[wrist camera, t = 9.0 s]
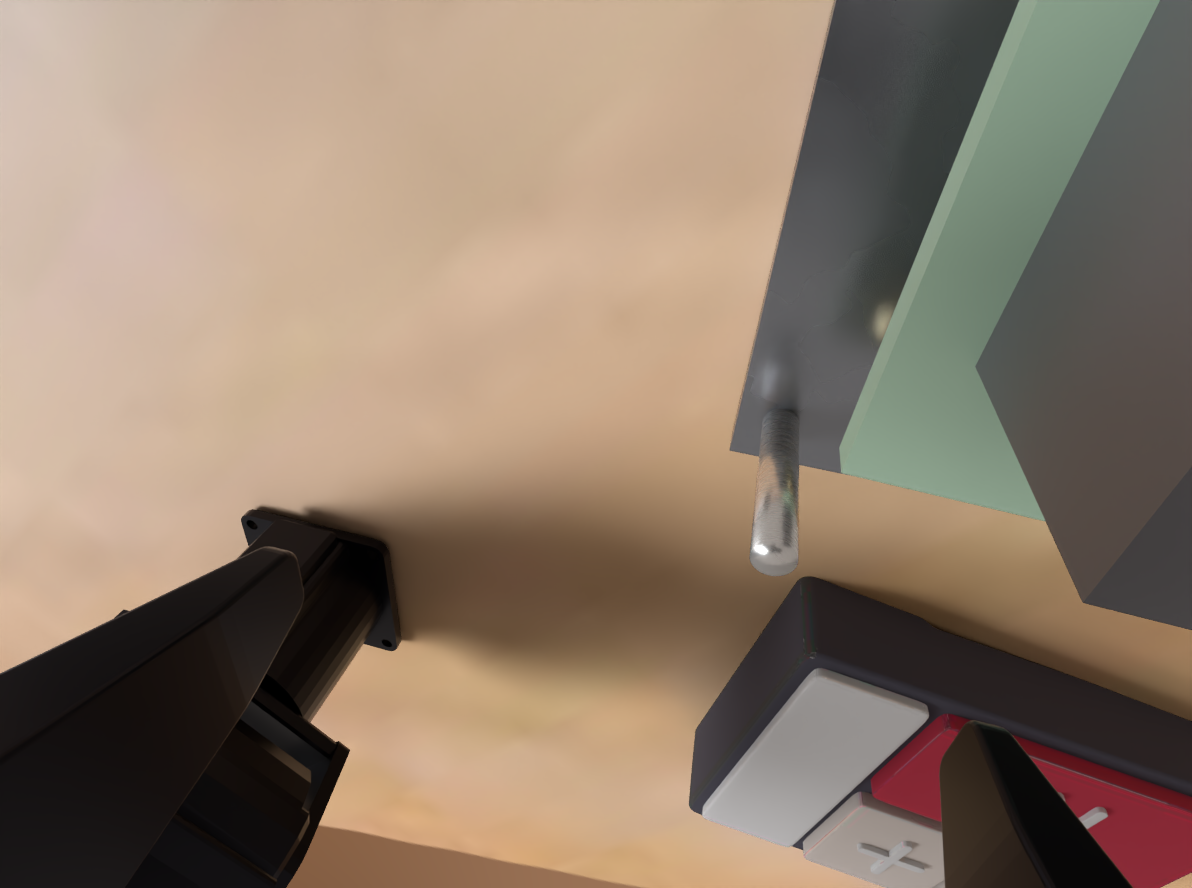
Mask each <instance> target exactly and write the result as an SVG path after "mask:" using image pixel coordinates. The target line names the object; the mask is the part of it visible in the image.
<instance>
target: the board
mask: <svg viewBox="0 0 1192 888" xmlns="http://www.w3.org/2000/svg"><path fill="white" fill-rule="evenodd" d="M839 450H840V463H841V473H843V474H848V475H852V476H856V477H860V478H865V479H869V480H873V481H877V482H881V483H886V484H890V485H894V486H898V487H902V488H907V489H911V490H915V491H919V492H924V493H928V494H932V495H936V496H940V497H945V498H949V499H953V500H957V501H961V502H966V503H970V504H974V505H978V506H983V507H987V508H991V509H995V510H999V511H1004V512H1008V513H1012V514H1016V515H1021V516H1025V517H1029V518H1033V519H1037V520H1042V521H1046V523H1047V525H1048V527H1049V530H1050V532H1051V534H1052V536H1053V538H1054V541H1055V543H1056V545H1057V547H1058V549H1059V552H1060V554H1061V556H1062V558H1063V560H1064V563H1065V565H1066V567H1067V569H1068V571H1069V574H1070V576H1071V578H1072V580H1073V582H1074V585H1075V587H1076V589H1077V591H1078V593H1079V595H1080V598H1081V600H1082V602H1083V603H1086V604H1090V605H1094V606H1098V607H1102V608H1106V609H1110V610H1114V611H1118V612H1122V613H1126V614H1130V615H1134V616H1137V617H1141V618H1145V619H1149V620H1153V621H1157V622H1161V623H1165V624H1169V625H1173V626H1177V627H1181V628H1185V629H1189V630H1192V0H1019V2H1018V5H1017V7H1016V10H1015V12H1014V15H1013V17H1012V20H1011V22H1010V25H1009V27H1008V30H1007V32H1006V34H1005V37H1004V39H1003V42H1002V44H1001V47H1000V49H999V52H998V54H997V57H996V59H995V62H994V64H993V67H992V69H991V72H990V74H989V77H988V79H987V82H986V84H985V87H984V89H983V92H982V94H981V97H980V99H979V102H978V104H977V107H976V109H975V112H974V114H973V117H972V119H971V121H970V124H969V126H968V129H967V131H966V134H965V136H964V139H963V141H962V144H961V146H960V149H959V151H958V154H957V156H956V159H955V161H954V164H953V166H952V169H951V171H950V174H949V176H948V179H947V181H946V184H945V186H944V189H943V191H942V194H941V196H940V199H939V201H938V203H937V206H936V208H935V211H934V213H933V216H932V218H931V221H930V223H929V226H928V228H927V231H926V233H925V236H924V238H923V241H922V243H921V246H920V248H919V251H918V253H917V256H916V258H915V261H914V263H913V266H912V268H911V271H910V273H909V276H908V278H907V281H906V283H905V285H904V288H903V290H902V293H901V295H900V298H899V300H898V303H897V305H896V308H895V310H894V313H893V315H892V318H891V320H890V323H889V325H888V328H887V330H886V333H885V335H884V338H883V340H882V343H881V345H880V348H879V350H878V353H877V355H876V358H875V360H874V363H873V365H872V367H871V370H870V372H869V375H868V377H867V380H866V382H865V385H864V387H863V390H862V392H861V395H860V397H859V400H858V402H857V405H856V407H855V410H854V412H853V415H852V417H851V420H850V422H849V425H848V427H847V430H846V432H845V435H844V437H843V440H842V442H841V445H840V447H839Z"/></svg>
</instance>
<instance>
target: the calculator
mask: <svg viewBox="0 0 1192 888" xmlns="http://www.w3.org/2000/svg"><path fill="white" fill-rule="evenodd" d="M971 720H975V721H980V722H984V723H988V724H992V725H996V726H1000V727H1002V728H1004V729H1006V730H1007V731H1008V732H1010V733H1011V734H1012V735H1013V736H1014V738H1015V739H1016V740H1017V741H1018V743H1019V744H1020V745H1021V747H1022V748H1023V749H1024V750H1025V752H1026V753H1027V754H1028V755H1029V757H1030V758H1031V759H1032V760H1033V762H1034V763H1035V764H1036V765H1037V767H1038V768H1039V769H1040V770H1041V772H1042V773H1043V774H1044V776H1045V777H1046V778H1047V779H1048V781H1049V782H1050V783H1051V784H1052V786H1053V787H1054V788H1055V789H1056V791H1057V792H1058V793H1059V794H1060V796H1061V797H1062V798H1063V799H1064V801H1065V802H1066V803H1067V805H1068V806H1069V807H1070V808H1071V810H1072V811H1073V812H1074V813H1075V815H1076V816H1077V817H1078V818H1079V820H1080V821H1081V822H1082V823H1083V825H1084V826H1085V827H1086V828H1087V830H1088V831H1089V832H1090V834H1091V835H1092V836H1093V837H1094V839H1095V840H1096V841H1097V842H1098V844H1099V845H1100V846H1101V847H1102V849H1103V850H1104V851H1105V852H1106V854H1107V855H1108V856H1109V857H1110V859H1111V860H1112V861H1113V862H1114V864H1115V865H1116V866H1117V868H1118V869H1119V870H1120V871H1121V873H1122V874H1123V875H1124V876H1125V878H1126V879H1127V880H1128V881H1129V883H1130V884H1131V885H1132V886H1133V888H1160V887H1163V886H1165V885H1167V884H1169V883H1171V882H1173V881H1175V880H1177V879H1179V878H1181V877H1183V876H1185V875H1187V874H1190V873H1192V721H1189V720H1186V719H1184V718H1181V717H1179V716H1176V715H1173V714H1171V713H1168V712H1166V711H1163V710H1160V709H1158V708H1155V707H1152V706H1150V705H1147V704H1145V703H1142V702H1139V701H1137V700H1134V699H1132V698H1129V697H1126V696H1124V695H1121V694H1118V693H1116V692H1113V691H1111V690H1108V689H1105V688H1103V687H1100V686H1097V685H1095V684H1092V683H1089V682H1087V681H1084V680H1081V679H1079V678H1076V677H1073V676H1070V675H1068V674H1065V673H1062V672H1059V671H1056V670H1054V669H1051V668H1048V667H1045V666H1042V665H1039V664H1036V663H1033V662H1030V661H1028V660H1025V659H1022V658H1019V657H1016V656H1013V655H1010V654H1007V653H1004V652H1002V651H999V650H996V649H993V648H990V647H987V646H984V645H981V644H979V643H976V642H973V641H970V640H967V639H964V638H961V637H958V636H956V635H953V634H950V633H947V632H944V631H941V630H939V629H936V628H934V627H933V626H931V625H930V624H929V623H927V622H926V621H925V620H924V619H922V618H920V617H918V616H915V615H913V614H910V613H907V612H905V611H902V610H900V609H897V608H894V607H892V606H889V605H887V604H884V603H881V602H879V601H876V600H874V599H871V598H868V597H866V596H863V595H860V594H858V593H855V592H853V591H850V590H847V589H845V588H842V587H840V586H837V585H834V584H832V583H829V582H827V581H824V580H821V579H818V578H815V577H803V578H801V579H799V580H798V581H797V582H796V584H795V585H794V587H793V588H792V589H791V591H790V592H789V594H788V595H787V597H786V598H785V600H784V601H783V603H782V604H781V606H780V607H779V609H778V610H777V611H776V613H775V614H774V616H773V617H772V619H771V620H770V622H769V623H768V625H767V626H766V628H765V629H764V630H763V632H762V633H761V635H760V636H759V638H758V639H757V641H756V642H755V644H754V645H753V647H752V648H751V650H750V651H749V652H748V654H747V655H746V657H745V658H744V660H743V661H742V663H741V664H740V666H739V667H738V669H737V670H736V671H735V673H734V674H733V676H732V677H731V679H730V680H729V682H728V683H727V685H726V686H725V688H724V689H723V691H722V692H721V693H720V695H719V696H718V698H717V699H716V701H715V702H714V704H713V705H712V707H711V708H710V710H709V711H708V713H707V714H706V715H705V717H704V718H703V720H702V721H701V723H700V724H699V726H698V727H697V729H696V731H695V741H694V752H693V763H692V774H691V785H690V797H689V806H690V808H691V809H692V810H693V811H694V812H696V813H699V814H701V815H702V816H703V818H705V819H707V820H709V821H712V822H715V823H717V824H720V825H723V826H726V827H729V828H732V829H735V830H737V831H740V832H743V833H746V834H749V835H752V836H755V837H757V838H760V839H763V840H766V841H769V842H772V843H775V844H777V845H780V846H784V847H790V846H793V847H796V848H799V849H801V850H803V853H804V858H805V859H807V860H809V861H811V862H814V863H817V864H820V865H823V866H826V867H829V868H831V869H834V870H837V871H840V872H843V873H846V874H849V875H851V876H854V877H857V878H860V879H863V880H866V881H869V882H871V883H874V884H877V885H880V886H883V887H886V888H945V881H944V861H943V841H942V821H941V801H940V781H939V770H940V764H941V760H942V757H943V755H944V753H945V752H946V751H947V749H948V748H949V746H950V745H951V743H952V742H953V740H954V739H955V737H956V736H957V734H958V733H959V731H960V730H961V728H962V727H963V726H964V724H965V723H967V722H969V721H971Z"/></svg>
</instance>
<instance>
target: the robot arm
mask: <svg viewBox="0 0 1192 888" xmlns="http://www.w3.org/2000/svg"><path fill="white" fill-rule="evenodd" d="M241 522H242V526H243V529H244V532H245V536H246V539H247V542H248V545H249V547H248V548H247V549H246V550H245V551H244V552H243V553H242V554H241V555H240V556H239V557H238V558H237V559H236V560H234V561H232V562H230V563H228V564H226V565H224V566H222V567H220V568H218V569H216V570H214V571H212V572H210V573H207V574H205V575H203V576H201V577H199V578H197V579H195V580H193V581H191V582H189V583H187V584H185V585H183V586H181V587H178V588H176V589H174V590H172V591H170V592H168V593H166V594H164V595H162V596H160V597H158V598H156V599H154V600H152V601H149V602H147V603H145V604H143V605H141V606H139V607H137V608H135V609H133V610H131V611H127V610H123V611H122V612H120V613H119V614H118V615H117V616H116V617H115V618H114V619H112V620H110V621H108V622H106V623H104V624H102V625H100V626H98V627H96V628H94V629H92V630H89V631H87V632H85V633H83V634H81V635H79V636H77V637H75V638H73V639H71V640H69V641H67V642H65V643H63V644H60V645H58V646H56V647H54V648H52V649H50V650H48V651H46V652H44V653H42V654H40V655H38V656H36V657H34V658H31V659H29V660H27V661H25V662H23V663H21V664H19V665H17V666H15V667H13V668H11V669H9V670H7V671H5V672H2V673H0V888H286V887H287V885H288V884H289V882H290V881H291V879H292V878H293V876H294V875H295V873H296V871H297V870H298V868H299V866H300V864H301V863H302V861H303V859H304V857H305V854H306V853H307V850H308V848H309V846H310V843H311V841H312V839H313V837H314V834H315V832H316V829H317V827H318V825H319V823H320V820H321V818H322V815H323V813H324V811H325V808H326V806H327V804H328V801H329V799H330V797H331V794H332V792H333V790H334V787H335V785H336V782H337V780H338V778H339V775H340V773H341V771H342V768H343V766H344V764H345V761H346V759H347V757H348V754H349V752H350V749H348V748H347V747H346V746H344V745H343V744H342V743H341V742H339V741H338V742H335V741H333V740H332V739H331V738H330V737H328V736H327V735H326V734H324V733H323V732H322V731H320V730H319V729H318V728H316V727H315V726H314V725H312V724H311V723H310V722H311V721H312V719H313V718H314V716H315V715H316V713H317V712H318V710H319V709H320V707H321V706H322V704H323V703H324V701H325V700H326V698H327V697H328V695H329V694H330V692H331V691H332V690H333V688H334V687H335V685H336V684H337V682H338V681H339V679H340V678H341V676H342V675H343V673H344V672H345V670H346V669H347V667H348V666H349V664H350V663H351V661H352V660H353V658H354V657H355V655H356V654H357V652H358V651H359V649H360V648H361V646H362V645H363V644H367V645H370V646H374V647H377V648H381V649H385V650H388V651H394V650H396V649H397V647H398V646H399V644H400V642H401V634H400V626H399V619H398V612H397V605H396V598H395V591H394V584H393V576H392V569H391V562H390V555H389V550H388V548H387V547H386V545H385V544H383V543H382V542H381V541H378V540H375V539H371V538H367V537H363V536H359V535H355V534H351V533H347V532H343V531H339V530H335V529H331V528H327V527H323V526H319V525H315V524H311V523H307V522H303V521H299V520H295V519H291V518H287V517H283V516H279V515H275V514H271V513H267V512H263V511H259V510H253V509H252V510H249V511H248V512H247V513H246V514H245V515H244V516H243V517H242V518H241ZM939 781H940V801H941V821H942V841H943V861H944V881H945V888H1133V886H1132V885H1131V884H1130V883H1129V881H1128V880H1127V879H1126V878H1125V876H1124V875H1123V874H1122V873H1121V871H1120V870H1119V869H1118V868H1117V866H1116V865H1115V864H1114V862H1113V861H1112V860H1111V859H1110V857H1109V856H1108V855H1107V854H1106V852H1105V851H1104V850H1103V849H1102V847H1101V846H1100V845H1099V844H1098V842H1097V841H1096V840H1095V839H1094V837H1093V836H1092V835H1091V834H1090V832H1089V831H1088V830H1087V828H1086V827H1085V826H1084V825H1083V823H1082V822H1081V821H1080V820H1079V818H1078V817H1077V816H1076V815H1075V813H1074V812H1073V811H1072V810H1071V808H1070V807H1069V806H1068V805H1067V803H1066V802H1065V801H1064V799H1063V798H1062V797H1061V796H1060V794H1059V793H1058V792H1057V791H1056V789H1055V788H1054V787H1053V786H1052V784H1051V783H1050V782H1049V781H1048V779H1047V778H1046V777H1045V776H1044V774H1043V773H1042V772H1041V770H1040V769H1039V768H1038V767H1037V765H1036V764H1035V763H1034V762H1033V760H1032V759H1031V758H1030V757H1029V755H1028V754H1027V753H1026V752H1025V750H1024V749H1023V748H1022V747H1021V745H1020V744H1019V743H1018V741H1017V740H1016V739H1015V738H1014V736H1013V735H1012V734H1011V733H1010V732H1008V731H1007V730H1006V729H1004V728H1002V727H1000V726H996V725H992V724H988V723H984V722H980V721H975V720H971V721H969V722H967V723H965V724H964V726H963V727H962V728H961V730H960V731H959V733H958V734H957V736H956V737H955V739H954V740H953V742H952V743H951V745H950V746H949V748H948V749H947V751H946V752H945V753H944V755H943V757H942V760H941V764H940V770H939Z"/></svg>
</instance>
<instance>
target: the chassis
mask: <svg viewBox="0 0 1192 888" xmlns="http://www.w3.org/2000/svg"><path fill="white" fill-rule="evenodd" d="M1018 2H1019V0H834V3H833V7H832V12H831V16H830V20H829V24H828V29H827V33H826V37H825V41H824V46H823V50H822V54H821V58H820V63H819V67H818V71H817V75H816V80H815V84H814V88H813V92H812V97H811V101H810V105H809V109H808V114H807V118H806V122H805V126H804V131H803V135H802V139H801V143H800V148H799V152H798V156H797V160H796V165H795V169H794V173H793V177H792V182H791V186H790V190H789V194H788V199H787V203H786V207H785V211H784V216H783V220H782V224H781V228H780V233H779V237H778V241H777V245H776V250H775V254H774V258H773V262H772V267H771V271H770V275H769V279H768V284H767V288H766V292H765V296H764V301H763V305H762V309H761V313H760V318H759V322H758V326H757V330H756V335H755V339H754V343H753V347H752V352H751V356H750V360H749V364H748V369H747V373H746V377H745V381H744V386H743V390H742V394H741V398H740V402H739V407H738V411H737V415H736V419H735V424H734V428H733V432H732V438H731V445H730V451H735V452H740V453H745V454H749V455H754V456H759V464H758V474H757V485H756V495H755V506H754V516H753V527H752V537H751V548H750V561H751V564H752V565H753V567H754V568H755V569H756V570H758V571H759V572H761V573H763V574H766V575H770V576H783V575H786V574H789V573H790V572H792V571H793V570H794V569H795V568H796V567H797V564H798V533H799V465H803V466H807V467H812V468H817V469H822V470H827V471H832V472H836V473H841V463H840V450H839V447H840V445H841V442H842V440H843V437H844V435H845V432H846V430H847V427H848V425H849V422H850V420H851V417H852V415H853V412H854V410H855V407H856V405H857V402H858V400H859V397H860V395H861V392H862V390H863V387H864V385H865V382H866V380H867V377H868V375H869V372H870V370H871V367H872V365H873V363H874V360H875V358H876V355H877V353H878V350H879V348H880V345H881V343H882V340H883V338H884V335H885V333H886V330H887V328H888V325H889V323H890V320H891V318H892V315H893V313H894V310H895V308H896V305H897V303H898V300H899V298H900V295H901V293H902V290H903V288H904V285H905V283H906V281H907V278H908V276H909V273H910V271H911V268H912V266H913V263H914V261H915V258H916V256H917V253H918V251H919V248H920V246H921V243H922V241H923V238H924V236H925V233H926V231H927V228H928V226H929V223H930V221H931V218H932V216H933V213H934V211H935V208H936V206H937V203H938V201H939V199H940V196H941V194H942V191H943V189H944V186H945V184H946V181H947V179H948V176H949V174H950V171H951V169H952V166H953V164H954V161H955V159H956V156H957V154H958V151H959V149H960V146H961V144H962V141H963V139H964V136H965V134H966V131H967V129H968V126H969V124H970V121H971V119H972V117H973V114H974V112H975V109H976V107H977V104H978V102H979V99H980V97H981V94H982V92H983V89H984V87H985V84H986V82H987V79H988V77H989V74H990V72H991V69H992V67H993V64H994V62H995V59H996V57H997V54H998V52H999V49H1000V47H1001V44H1002V42H1003V39H1004V37H1005V34H1006V32H1007V30H1008V27H1009V25H1010V22H1011V20H1012V17H1013V15H1014V12H1015V10H1016V7H1017V5H1018ZM841 474H843V473H841ZM846 475H848V474H846ZM851 476H852V475H851Z"/></svg>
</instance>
